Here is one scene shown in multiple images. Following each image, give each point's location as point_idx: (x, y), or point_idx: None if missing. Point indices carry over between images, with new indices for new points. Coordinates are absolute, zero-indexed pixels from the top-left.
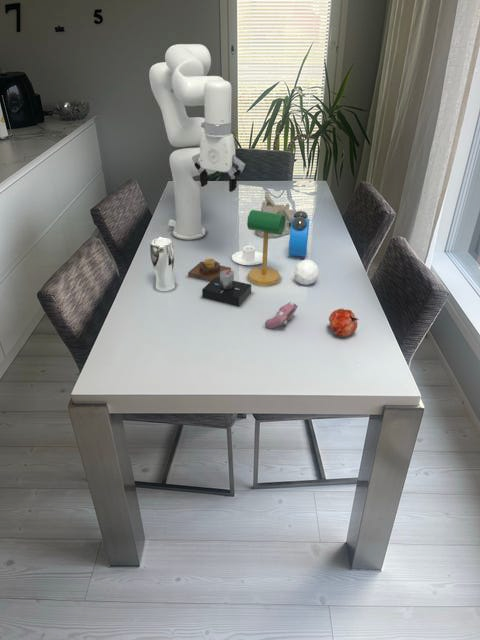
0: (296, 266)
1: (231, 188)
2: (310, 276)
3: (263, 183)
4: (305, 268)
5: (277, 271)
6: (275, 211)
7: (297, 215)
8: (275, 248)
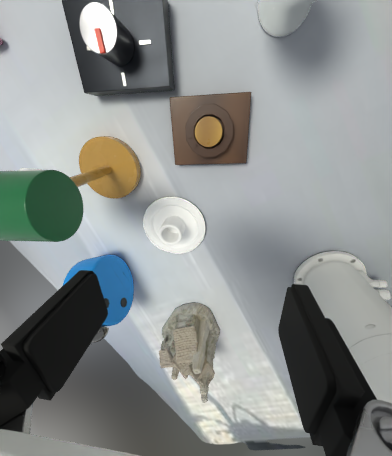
0: None
1: (70, 286)
2: None
3: (272, 434)
4: None
5: (95, 190)
6: (178, 353)
7: None
8: (158, 276)
